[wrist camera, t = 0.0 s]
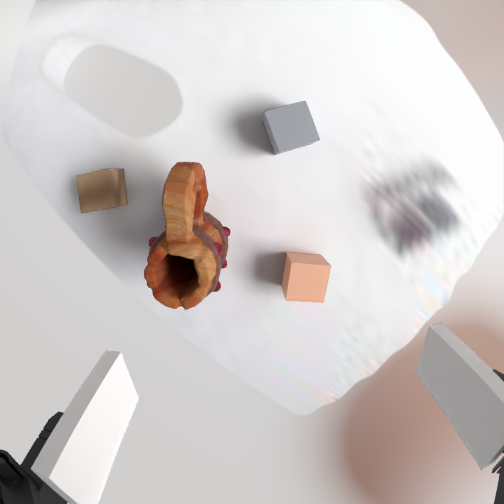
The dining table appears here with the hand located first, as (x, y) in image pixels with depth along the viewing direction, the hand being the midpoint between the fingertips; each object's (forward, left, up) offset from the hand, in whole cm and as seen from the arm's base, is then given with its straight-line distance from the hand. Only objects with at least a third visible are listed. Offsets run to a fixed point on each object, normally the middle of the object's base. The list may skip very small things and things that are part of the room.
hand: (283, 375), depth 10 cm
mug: (-2, -7, -28) cm, 29 cm away
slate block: (-13, +5, -28) cm, 31 cm away
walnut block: (-8, -20, -28) cm, 36 cm away
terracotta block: (+6, +6, -28) cm, 29 cm away
